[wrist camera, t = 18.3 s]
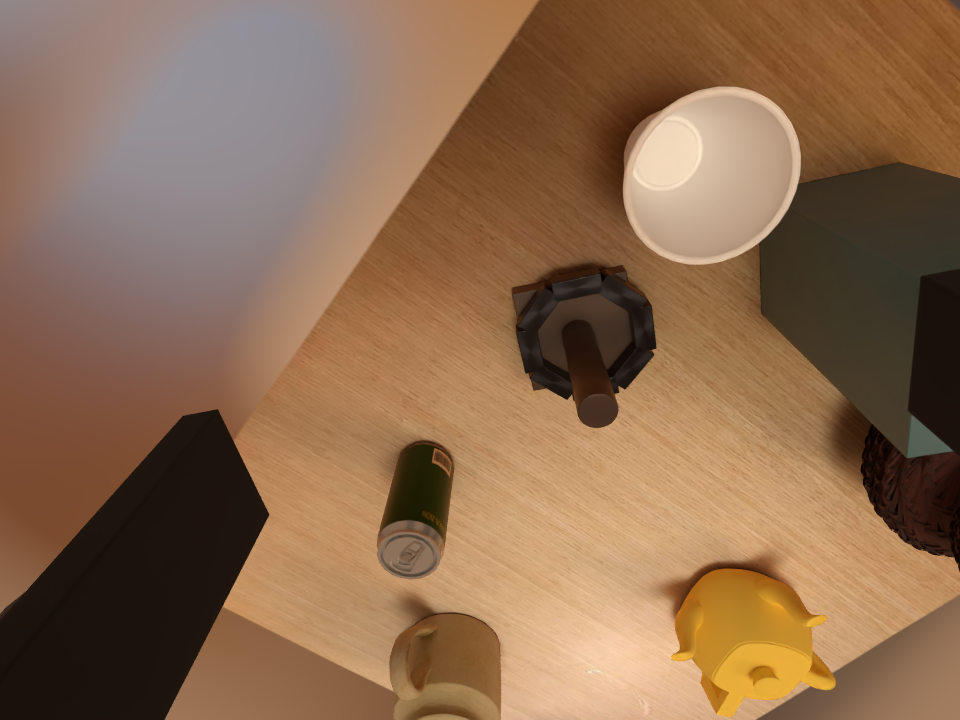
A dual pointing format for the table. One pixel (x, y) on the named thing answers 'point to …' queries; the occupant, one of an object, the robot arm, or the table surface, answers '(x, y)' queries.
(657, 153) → the cup
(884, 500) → the vase
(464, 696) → the lidded mug
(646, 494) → the table surface
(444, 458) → the beer can
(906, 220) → the stand
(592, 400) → the holder
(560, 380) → the ring
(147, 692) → the robot arm
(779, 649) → the teapot
